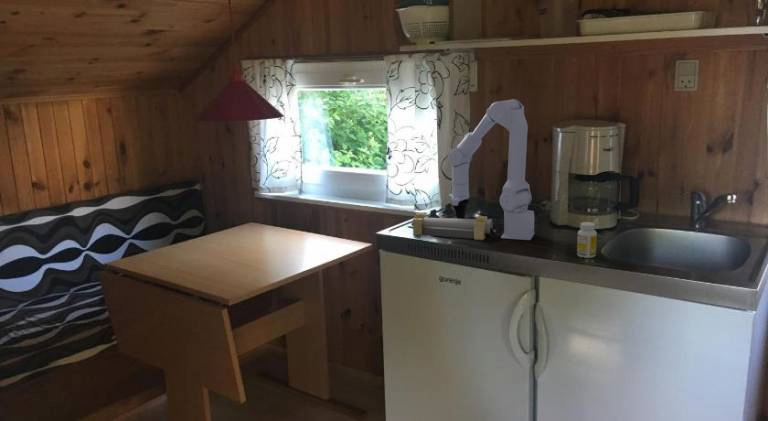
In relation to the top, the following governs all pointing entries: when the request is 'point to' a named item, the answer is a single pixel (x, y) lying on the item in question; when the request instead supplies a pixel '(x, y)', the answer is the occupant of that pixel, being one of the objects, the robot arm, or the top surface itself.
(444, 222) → the tube
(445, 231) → the dark gray bar
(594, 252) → the supplement bottle
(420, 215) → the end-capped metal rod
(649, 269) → the top surface
